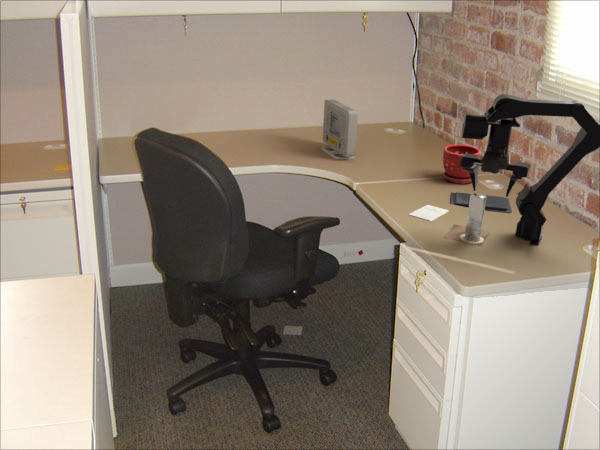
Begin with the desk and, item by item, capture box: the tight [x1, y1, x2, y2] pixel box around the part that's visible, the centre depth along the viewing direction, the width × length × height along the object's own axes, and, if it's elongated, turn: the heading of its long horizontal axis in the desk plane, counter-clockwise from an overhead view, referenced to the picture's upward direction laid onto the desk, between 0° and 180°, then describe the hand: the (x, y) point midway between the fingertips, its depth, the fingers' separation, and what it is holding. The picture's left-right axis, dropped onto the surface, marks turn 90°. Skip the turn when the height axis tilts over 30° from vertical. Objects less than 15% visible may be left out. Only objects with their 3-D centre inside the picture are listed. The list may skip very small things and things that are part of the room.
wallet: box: [449, 191, 513, 214], centre depth 215 cm, size 20×2×15 cm
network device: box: [320, 99, 359, 161], centre depth 262 cm, size 26×9×20 cm, turn 20°
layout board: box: [442, 223, 491, 247], centre depth 187 cm, size 11×12×1 cm
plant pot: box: [442, 144, 481, 184], centre depth 235 cm, size 13×13×12 cm
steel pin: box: [464, 192, 487, 242], centre depth 181 cm, size 4×4×13 cm
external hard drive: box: [407, 204, 450, 222], centre depth 202 cm, size 2×8×12 cm
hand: (490, 193), depth 184 cm, fingers open, 9 cm apart
